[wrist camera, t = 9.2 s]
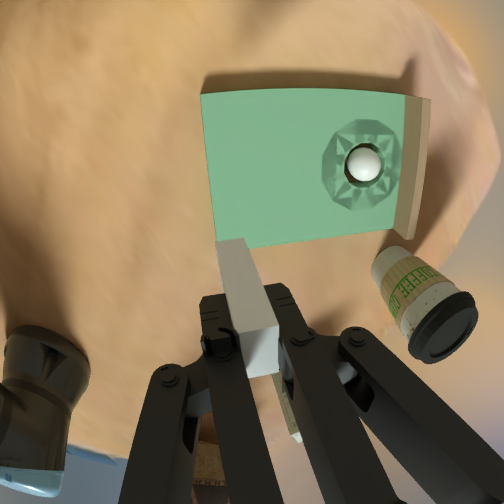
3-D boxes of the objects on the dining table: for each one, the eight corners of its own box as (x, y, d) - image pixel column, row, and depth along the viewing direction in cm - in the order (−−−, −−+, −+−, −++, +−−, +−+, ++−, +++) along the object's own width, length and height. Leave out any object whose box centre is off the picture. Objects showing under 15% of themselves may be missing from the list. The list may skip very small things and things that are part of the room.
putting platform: (217, 243, 34) (221, 269, 30) (200, 94, 25) (201, 95, 21) (391, 220, 36) (413, 239, 32) (402, 94, 28) (430, 99, 24)
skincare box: (277, 384, 50) (295, 444, 40) (270, 372, 47) (288, 436, 37) (312, 371, 50) (335, 429, 39) (306, 357, 47) (331, 420, 37)
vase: (245, 415, 54) (278, 556, 29) (244, 450, 64) (269, 557, 39) (130, 421, 50) (133, 562, 25) (152, 456, 60) (160, 564, 35)
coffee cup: (369, 233, 37) (440, 309, 24) (424, 233, 39) (494, 296, 26) (351, 295, 42) (403, 376, 29) (404, 289, 44) (458, 357, 31)
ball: (347, 184, 30) (381, 187, 29) (349, 150, 28) (385, 153, 27) (345, 173, 33) (376, 176, 32) (346, 142, 31) (378, 145, 30)
